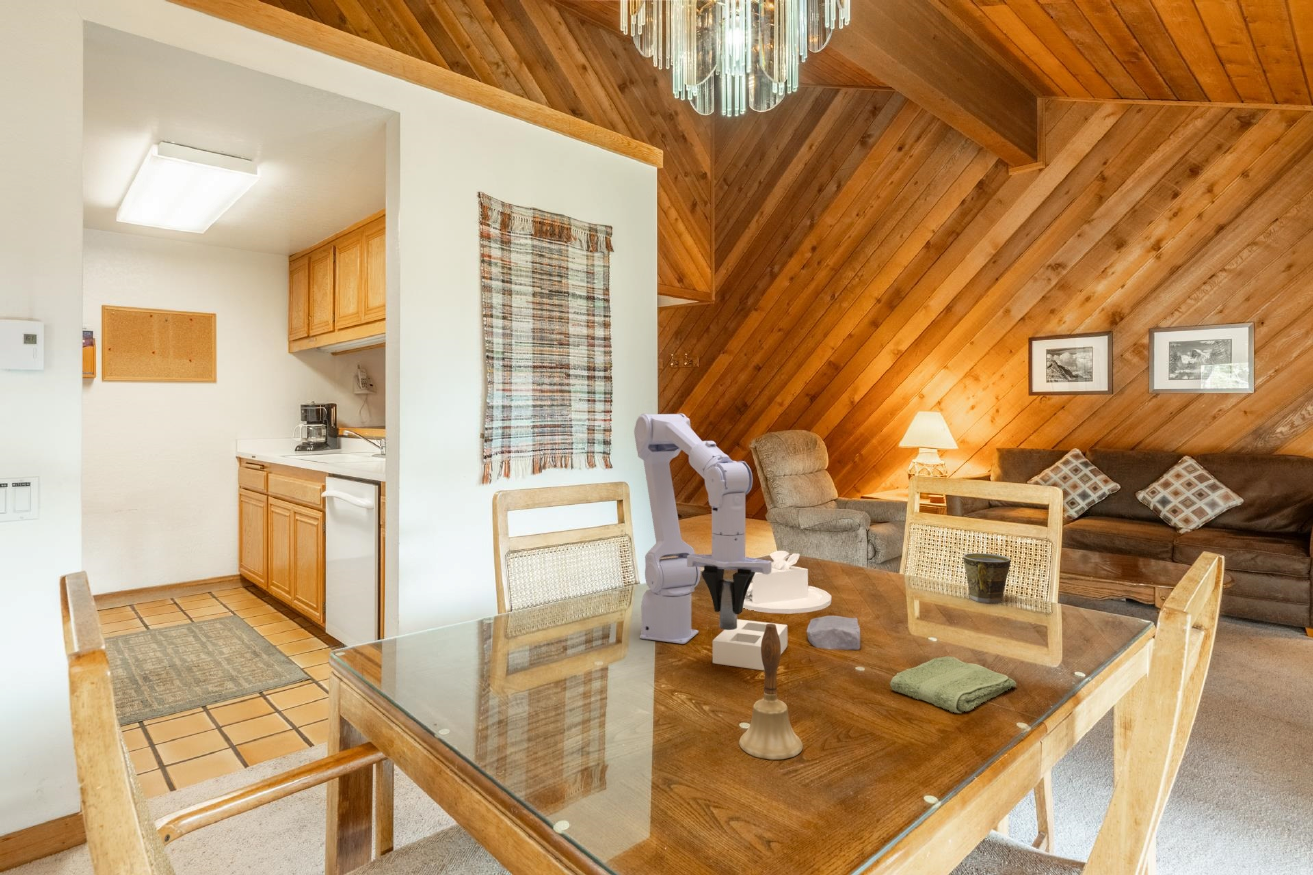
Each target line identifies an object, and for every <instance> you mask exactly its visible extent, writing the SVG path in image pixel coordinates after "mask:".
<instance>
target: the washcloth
mask: <svg viewBox="0 0 1313 875" xmlns="http://www.w3.org/2000/svg"><path fill="white" fill-rule="evenodd" d="M889 685H890V687H891V690H892V691H894V692H896V693H899V694H903V695H905V696H908V697H910V698H912V699H915V700H916V699H917V700H921V701H924V702H926V703H929V704H933V705H934V706H935V707H937V708H943V710H947V711H948V710H949V711H948V712H951V713H953V712H954V713H955V714H963V713H964V711H965V712H970V711H972V710H973V709H975V708H974V707H976V706H978V707H979V706H980V705H982V704H981V703H983V702H985V701H986V702H988V701H990V699H991V698H997V696H1000V694H1003V693H1004V692H1005V691H1009V690H1010V689H1012V688H1015V687H1017V682H1016V681H1015V680H1014V679H1013V678H1010V677H1009V676H1008V675H1006V674H1003V673H999V672H997V671H993V670H991V669H989V668H987V667H985V666H982V665H980V664H978V663H971V662H970V663H969V662H964V661H961V660H960V659H958V658H957V657H954V656H943V657H935V658H932V659H930V660H928V661H926V662H923V663H920V664H919V665H917V666H915V667H911V668H906V669H905V670H902V671H900V672H897V673H896V674H895V676H893V677H892V678H891V681H890V682H889ZM1008 689H1009V690H1008ZM987 700H988V701H987ZM991 700H992V699H991ZM986 702H985V703H986ZM983 704H984V703H983ZM976 708H977V707H976ZM962 712H963V713H962ZM954 713H953V714H954Z"/></svg>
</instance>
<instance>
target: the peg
mask: <svg viewBox="0 0 1313 875" xmlns="http://www.w3.org/2000/svg"><path fill="white" fill-rule="evenodd" d="M719 606H720V611H719V629H721V630H723V631H724V630H734V629H736V628H737V619H738V614H735V609H734V607H735V590H734V581H733V578H723V579H721V580H720V581H719Z"/></svg>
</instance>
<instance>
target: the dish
mask: <svg viewBox="0 0 1313 875" xmlns="http://www.w3.org/2000/svg"><path fill="white" fill-rule="evenodd" d="M800 556H801V554H800V553H792V554H791V553H790V552H788V551H785V550H776V551H773V552H772V553H770V554H769V557H770V558H771V559H772V560H773V561H771V573H769V574H762V573H758V572H755V575H754V577H753V579H752V581H751V583H750V585H749V588H748V590H747V593H746V596H745V600H744V604H743V608H745V609H744V610H747V609H748V611H751V610H754V611H753V612H759V613H760V612H761V613H767V614H800V613H801V614H802V613H810V612H816V611H821V610H824V609H825V608H827V607H829V606H831V604H832V595H831V594H830V593H829V592H827V590H824V589H821V588H819V587H817V586H816V587H815V586H812V585H809V569H808V568H805V567H804V568H803V567H800V566H795V564H797V562H798V561H799V558H800Z"/></svg>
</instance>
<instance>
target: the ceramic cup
mask: <svg viewBox="0 0 1313 875" xmlns="http://www.w3.org/2000/svg"><path fill="white" fill-rule="evenodd" d="M962 557H963V564H964V571H965V574H966V579H967V580H966V581H967V586H968V592H969V597H970V599H971V600H972V601H975V602H977V603H982V604H983V603H984V604H1000V603H1001V602H1002V601H1003V597H1004V594H1005V588H1006V583H1007V578H1008V575H1009V571H1010V566H1011V558H1010V557H1008V556H1004V555H999V554H995V553H994V554H993V553H982V552H981V553H978V552H975V553H972V552H971V553H966V554H964V555H963V556H962Z"/></svg>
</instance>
